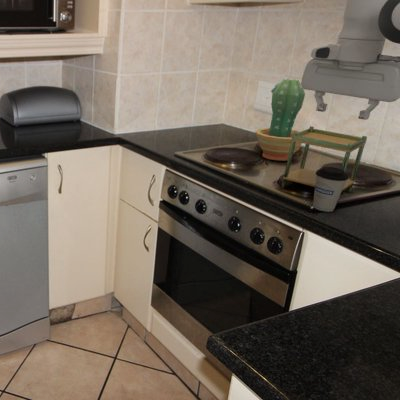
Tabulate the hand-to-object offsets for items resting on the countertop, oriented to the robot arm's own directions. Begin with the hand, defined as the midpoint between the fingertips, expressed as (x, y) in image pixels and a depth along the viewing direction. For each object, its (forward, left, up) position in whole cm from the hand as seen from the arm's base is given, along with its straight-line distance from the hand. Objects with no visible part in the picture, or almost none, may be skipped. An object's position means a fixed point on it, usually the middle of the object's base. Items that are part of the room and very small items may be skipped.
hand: (341, 114), depth 110 cm
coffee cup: (-1, -1, -24) cm, 24 cm away
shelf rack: (+5, -13, -23) cm, 27 cm away
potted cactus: (+25, -35, -23) cm, 49 cm away
